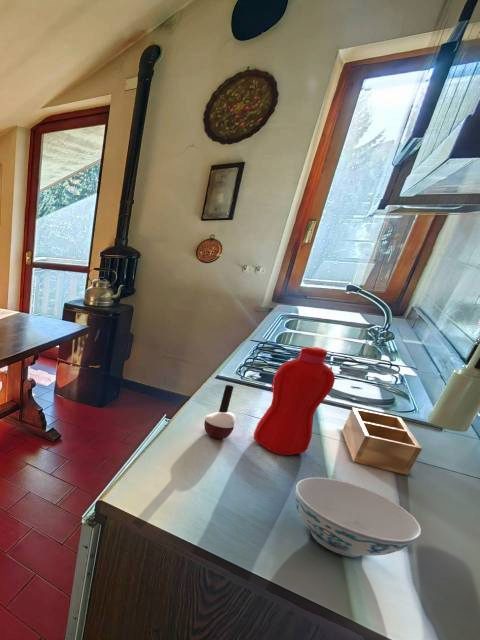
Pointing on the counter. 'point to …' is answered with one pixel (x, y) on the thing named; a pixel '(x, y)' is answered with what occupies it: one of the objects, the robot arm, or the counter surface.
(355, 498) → the chinaware
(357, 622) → the counter surface
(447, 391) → the bottle
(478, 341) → the robot arm
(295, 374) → the red plastic tall container
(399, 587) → the counter surface
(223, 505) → the counter surface
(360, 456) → the box
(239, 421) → the counter surface
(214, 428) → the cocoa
